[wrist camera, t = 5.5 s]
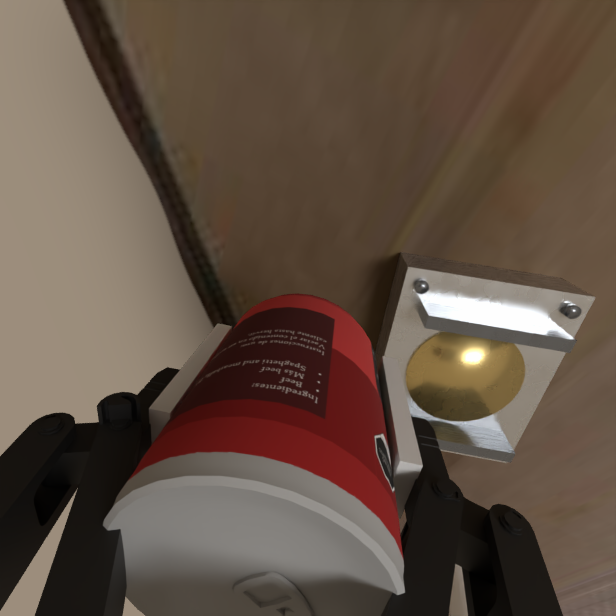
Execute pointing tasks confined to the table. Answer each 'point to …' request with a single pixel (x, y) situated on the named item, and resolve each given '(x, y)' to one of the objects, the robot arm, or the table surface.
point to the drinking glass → (458, 594)
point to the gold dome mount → (477, 347)
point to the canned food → (269, 479)
